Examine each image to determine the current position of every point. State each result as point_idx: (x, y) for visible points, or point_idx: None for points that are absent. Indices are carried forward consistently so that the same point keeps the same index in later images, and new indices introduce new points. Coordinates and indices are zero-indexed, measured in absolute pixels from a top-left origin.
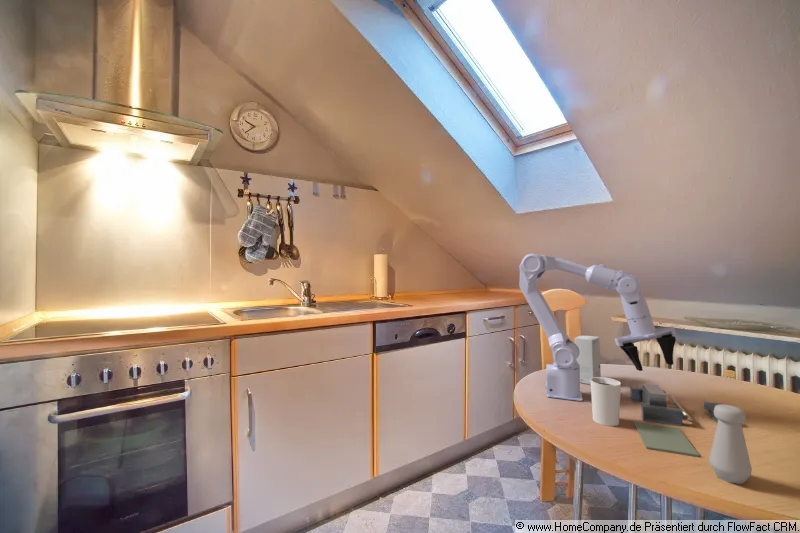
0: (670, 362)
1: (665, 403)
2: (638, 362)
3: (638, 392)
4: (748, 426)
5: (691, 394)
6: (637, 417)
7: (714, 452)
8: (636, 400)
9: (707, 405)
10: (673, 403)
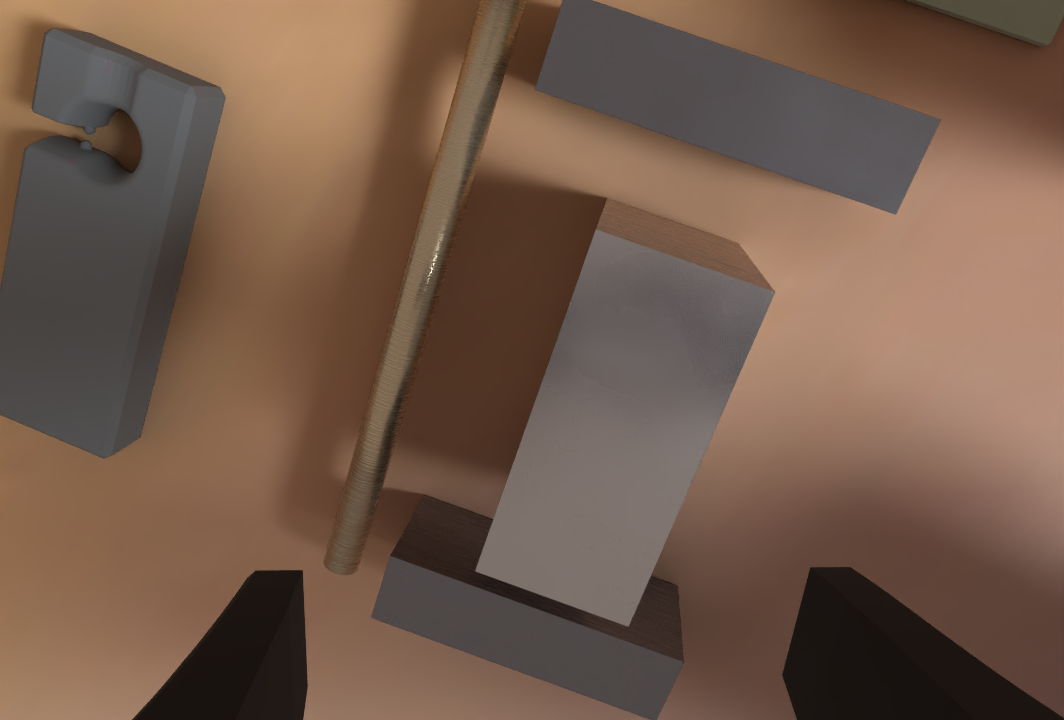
0: (292, 594)
1: (611, 217)
2: (952, 665)
3: None
4: (11, 51)
5: (81, 698)
6: None
7: None
8: None
9: (123, 377)
10: (403, 414)
